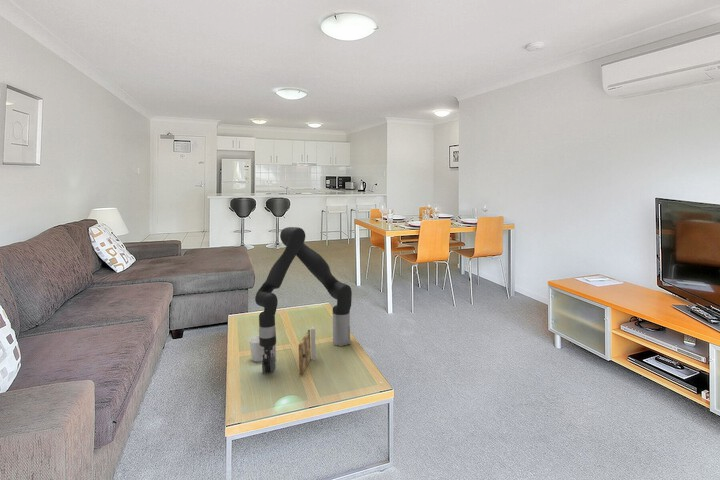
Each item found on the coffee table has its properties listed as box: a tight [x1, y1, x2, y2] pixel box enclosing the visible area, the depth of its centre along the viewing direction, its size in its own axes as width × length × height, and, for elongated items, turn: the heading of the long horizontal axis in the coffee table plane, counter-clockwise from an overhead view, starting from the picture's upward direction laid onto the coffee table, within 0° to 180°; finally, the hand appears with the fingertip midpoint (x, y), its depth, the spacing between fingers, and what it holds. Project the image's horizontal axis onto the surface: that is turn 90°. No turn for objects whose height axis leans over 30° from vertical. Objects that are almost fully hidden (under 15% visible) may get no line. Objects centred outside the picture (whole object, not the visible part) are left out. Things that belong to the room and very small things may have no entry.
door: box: [298, 329, 311, 375], centre depth 172 cm, size 16×2×15 cm, turn 173°
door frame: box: [273, 326, 317, 362], centre depth 179 cm, size 21×2×16 cm, turn 94°
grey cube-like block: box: [261, 356, 276, 375], centre depth 169 cm, size 5×5×6 cm
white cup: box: [249, 335, 264, 363], centre depth 181 cm, size 8×8×10 cm
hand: (268, 369), depth 170 cm, fingers closed on grey cube-like block, 5 cm apart
